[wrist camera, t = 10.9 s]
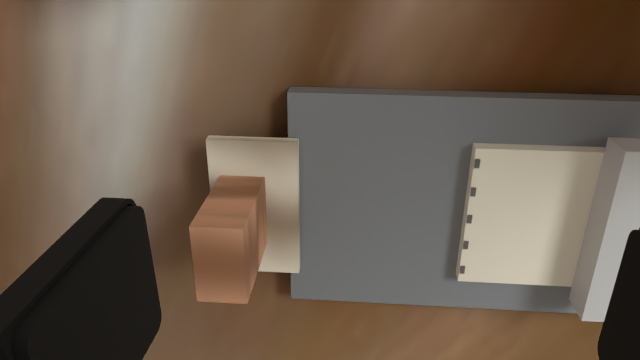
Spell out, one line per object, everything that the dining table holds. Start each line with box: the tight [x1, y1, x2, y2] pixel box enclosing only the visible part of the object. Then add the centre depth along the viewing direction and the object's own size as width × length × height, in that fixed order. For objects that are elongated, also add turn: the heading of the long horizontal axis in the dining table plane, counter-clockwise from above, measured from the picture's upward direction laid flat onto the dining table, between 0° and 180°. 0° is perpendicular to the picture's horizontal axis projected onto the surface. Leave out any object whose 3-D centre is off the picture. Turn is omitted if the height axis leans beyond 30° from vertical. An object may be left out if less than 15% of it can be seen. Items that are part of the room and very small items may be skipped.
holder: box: [287, 86, 640, 322], centre depth 35 cm, size 16×26×5 cm, turn 90°
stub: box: [189, 135, 300, 304], centre depth 33 cm, size 10×6×8 cm, turn 0°
